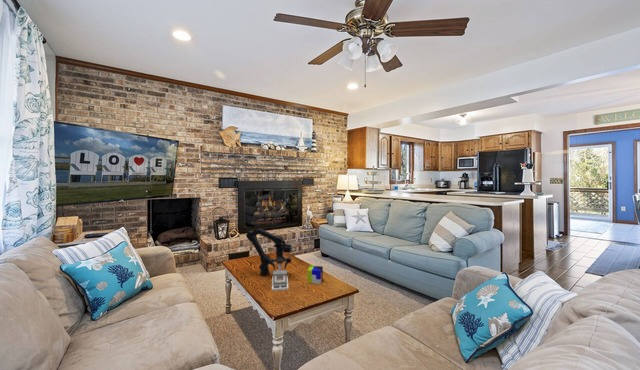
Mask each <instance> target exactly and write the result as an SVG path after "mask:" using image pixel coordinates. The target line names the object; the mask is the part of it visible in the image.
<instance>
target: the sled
mask: <svg viewBox="0 0 640 370" xmlns="http://www.w3.org/2000/svg"><path fill="white" fill-rule="evenodd" d="M277 267H278V269H277V270H276V271H280V270H282V264H277ZM276 280H284V275H280V276H276Z"/></svg>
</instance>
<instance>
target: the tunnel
mask: <svg viewBox="0 0 640 370" xmlns="http://www.w3.org/2000/svg"><path fill="white" fill-rule="evenodd" d="M287 274H288V273H287V269H285V270H284V269H281V270H280V271H277V270H273V272H272V276H273V286H275V276H280V275H285V284H286V285H287V276H288V275H287Z"/></svg>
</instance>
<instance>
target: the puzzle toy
mask: <svg viewBox="0 0 640 370" xmlns="http://www.w3.org/2000/svg"><path fill="white" fill-rule="evenodd" d="M323 268H324V267H323V266H322V265H321V266H319V265H310V266H309V267H308V269H307V284H317V285H321V283H322V281H323V279H324V278H323V277H324V275H323V274H324V269H323Z"/></svg>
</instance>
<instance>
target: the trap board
mask: <svg viewBox="0 0 640 370" xmlns="http://www.w3.org/2000/svg"><path fill="white" fill-rule="evenodd" d="M276 291H277V292H278V291H289V278H288V275H287V285H286V284H285V275H284V280H276V276H275V286H273V275H272V278H271V292H276Z"/></svg>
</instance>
